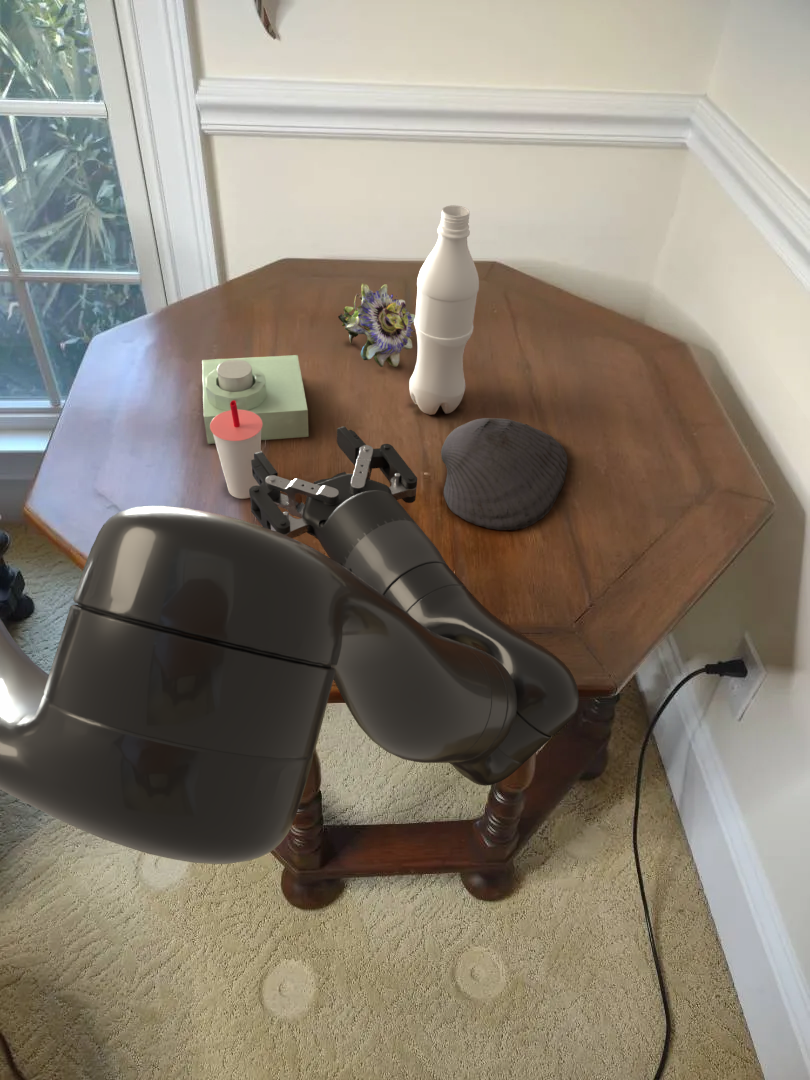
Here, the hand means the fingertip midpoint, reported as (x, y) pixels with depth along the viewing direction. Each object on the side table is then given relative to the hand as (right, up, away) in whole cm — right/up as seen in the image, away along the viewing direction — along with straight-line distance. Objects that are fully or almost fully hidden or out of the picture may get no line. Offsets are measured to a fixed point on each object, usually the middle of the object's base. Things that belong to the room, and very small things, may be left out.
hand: (299, 446), depth 72 cm
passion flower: (+5, +17, +35) cm, 40 cm away
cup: (-8, -3, +14) cm, 16 cm away
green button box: (-9, +7, +24) cm, 27 cm away
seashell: (+22, -1, +18) cm, 28 cm away
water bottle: (+14, +9, +28) cm, 32 cm away
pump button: (-10, +10, +18) cm, 23 cm away
